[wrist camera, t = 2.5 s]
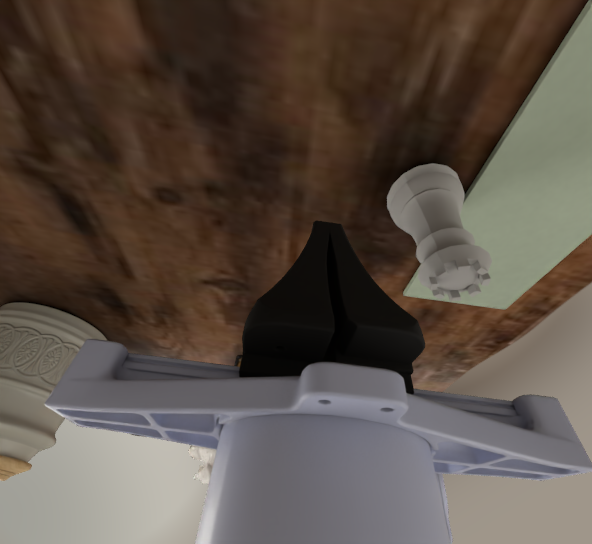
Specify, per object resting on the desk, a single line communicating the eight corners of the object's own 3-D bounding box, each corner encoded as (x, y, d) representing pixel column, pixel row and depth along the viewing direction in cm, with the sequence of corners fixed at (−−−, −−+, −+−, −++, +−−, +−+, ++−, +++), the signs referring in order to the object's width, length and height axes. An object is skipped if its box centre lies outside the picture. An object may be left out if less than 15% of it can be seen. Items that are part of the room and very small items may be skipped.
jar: (83, 305, 32) (-66, 508, 20) (126, 357, 41) (43, 516, 29) (-30, 293, 32) (-247, 488, 20) (39, 348, 41) (-80, 503, 29)
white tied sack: (243, 426, 72) (234, 463, 61) (240, 452, 73) (230, 493, 62) (196, 421, 72) (178, 457, 60) (194, 447, 73) (176, 487, 62)
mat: (503, 306, 26) (505, 309, 26) (402, 292, 26) (403, 295, 26) (820, 23, 12) (832, 24, 11) (598, -17, 11) (605, -16, 11)
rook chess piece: (371, 192, 19) (389, 282, 13) (435, 143, 16) (490, 230, 11) (409, 230, 21) (437, 322, 15) (471, 192, 18) (532, 286, 13)
